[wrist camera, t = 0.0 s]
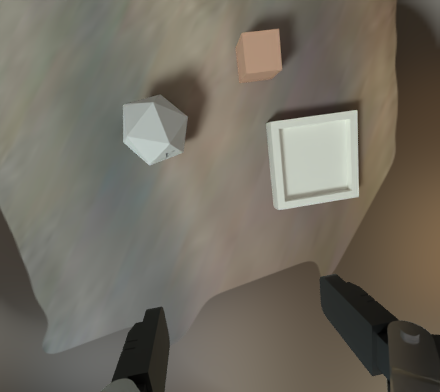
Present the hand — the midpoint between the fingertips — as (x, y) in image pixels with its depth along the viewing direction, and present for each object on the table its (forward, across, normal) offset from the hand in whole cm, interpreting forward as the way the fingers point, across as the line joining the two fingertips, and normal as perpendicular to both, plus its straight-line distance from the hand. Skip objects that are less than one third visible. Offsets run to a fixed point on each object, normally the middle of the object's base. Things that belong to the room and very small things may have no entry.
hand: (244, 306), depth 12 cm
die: (+30, +6, -11) cm, 32 cm away
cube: (+29, -10, -19) cm, 36 cm away
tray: (+29, -18, -3) cm, 34 cm away
